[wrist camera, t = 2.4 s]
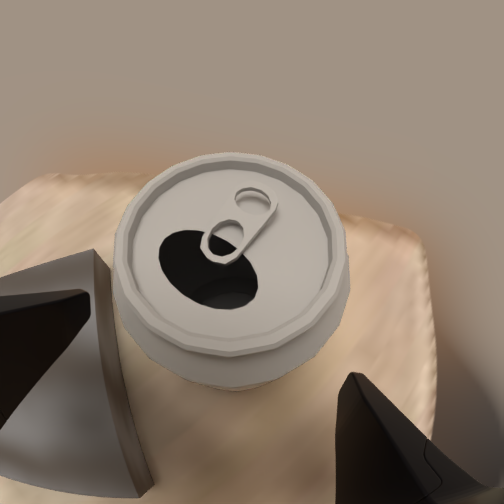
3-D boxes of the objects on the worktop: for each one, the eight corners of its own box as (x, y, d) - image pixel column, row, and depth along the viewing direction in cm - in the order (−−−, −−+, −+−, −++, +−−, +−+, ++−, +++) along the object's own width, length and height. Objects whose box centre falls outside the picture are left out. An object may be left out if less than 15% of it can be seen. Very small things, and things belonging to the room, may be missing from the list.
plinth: (154, 484, 11) (139, 498, 9) (1, 466, 8) (-21, 467, 6) (109, 268, 19) (93, 248, 16) (-16, 302, 16) (-35, 290, 13)
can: (154, 345, 16) (45, 255, 6) (221, 262, 20) (209, 113, 9) (250, 413, 15) (275, 453, 4) (312, 319, 18) (401, 204, 7)
